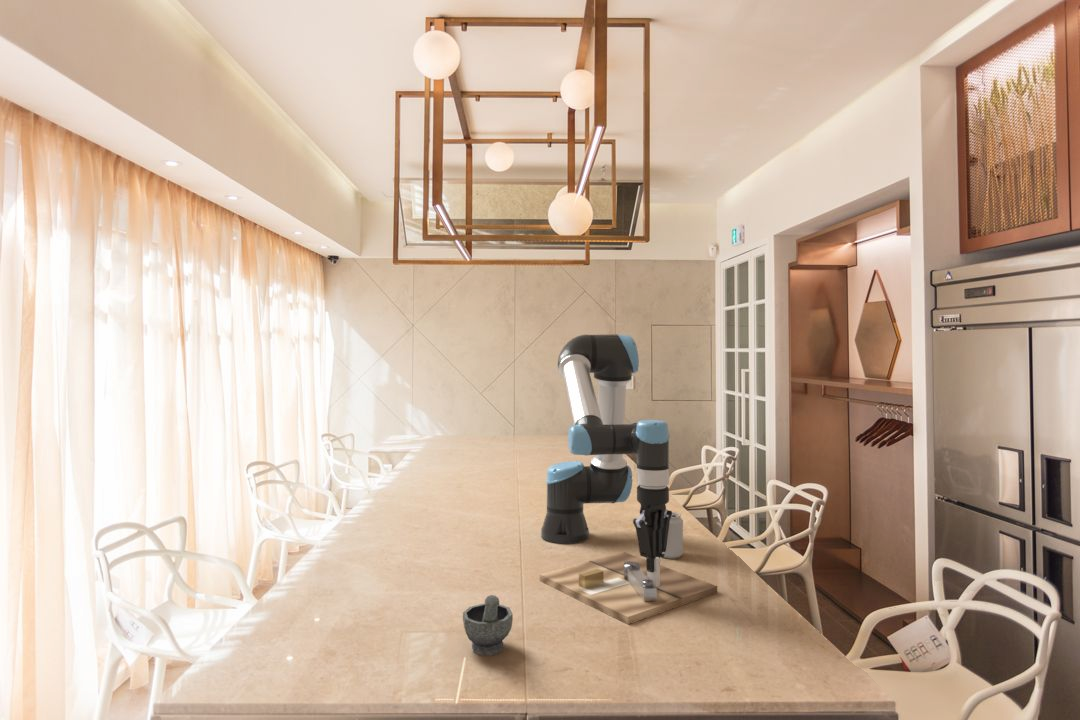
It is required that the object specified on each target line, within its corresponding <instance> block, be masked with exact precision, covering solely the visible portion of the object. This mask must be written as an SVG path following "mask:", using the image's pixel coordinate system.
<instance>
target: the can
mask: <svg viewBox="0 0 1080 720" xmlns="http://www.w3.org/2000/svg"><path fill="white" fill-rule="evenodd" d="M681 515H682V514H680V513H678V512H673V511H672V516H671V519H670V523H669V531H668V539H667V547H666V552H662V554H665V555H664V557H662V558H664V559H670V560H671V559H675V560H676V559H679V558H680V557H681V556H682V555H683V553H684V521H683V519H682V518H681Z"/></svg>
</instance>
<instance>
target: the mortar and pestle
mask: <svg viewBox="0 0 1080 720" xmlns="http://www.w3.org/2000/svg"><path fill="white" fill-rule="evenodd" d="M462 622H463V628H464V631H465V634H466V636H467V638H468V640H469V641H470V642H472V643H471V649H472V652H473V653H475V654H476V655H479V656H494V655H497V654H500V653H501V652H502V651H503V650H504V640H505V639H506V638H507V636H508V635H509V633H510V632H511V630H512V626H513V622H514V621H513V612H512V610H511V607H508V606H505V605H502V604H501V603H500V600H499V597H498V596H496V595H494V594H493V595H492V594H490V595H488V596H487V597H485V599H484V603H480V604H476V605H472V606H471V605H470V606H469V607H468V608H466V610H464V611H463V612H462Z"/></svg>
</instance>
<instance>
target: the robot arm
mask: <svg viewBox="0 0 1080 720" xmlns="http://www.w3.org/2000/svg"><path fill="white" fill-rule="evenodd" d="M639 360H640V359H639V351H638V346H637V344H636V341H635V339H634V338H633V337H632V336H631V335H628V334H627V335H626V334H617V333H615V334H581V335H577V336H575V337H573V338H572V339H571V340H569V341H567V343H565V345H564V346H563V347H562V349H561V350H560V353H559V355H558V358H557V368H558V370H557V371H558V374H559V376H560V378H562V379H563V381H564V386H565V390H566V395H567V399H568V405H569V408H570V414H571V419H572V422H573V423H572V425H570V426H569V427H568V432H567V442H568V450H569V452H570V453H571V454H572V455H577V456H581V455H582V456H593V457H592V458H591V459H590V460H589V461H590V464H589V465H584V462H582V461H578V460H576V461H575V460H574V461H572V460H571V461H561V462H558V463H555V464H554V463H553V464H552V465H550V466H549V467H548V469H547V471H546V480H545V483H546V513H545V517H544V521H543V525H542V527H541V530H540V531H541V532H540V535H541V536H540V537H541V538H542V539H543V541H546V542H549V543H555V544H577V543H582V542H584V541H587V540H588V539H589V537H590V531H589V530H590V529H589V527H588V523H587V520H586V516H585V514H584V504H616V503H625V502H626V501H627V500H628V499H629V497H630V495H631V492H632V487H633V470H632V468H631V467H630V465H628V461H627V460H626V459H625V458H624V457H623V456H624V455H636V483H637V487H636V501H637V502H638V503H639V504H640V509H639V516H638V517H637V518H633V520H632V523H633V525H634V527H635V531H636V538H637V542H638V550H639V556H641V557H643V558H646V559H645V560H646V568H647V578H648V579H649V580H652V581H653V585H654V586H659V585H660V565H661V558H663V557H664V555H665V554H662V552H666V547H667V539H668V531H669V523H670V519H671V516H672V512H673V511H672V510H668V509H667V505H666V504H668V503H669V502H670V488H669V487H668V486H669V484H670V468H669V467H670V465H669V463H670V462H669V461H670V460H669V457H670V455H669V453H670V452H669V451H670V448H669V447H670V442H669V441H670V440H669V439H670V434H669V425H668V422H667V421H665V420H660V419H659V420H658V419H643V420H642V419H641V420H639V421H637V422H632V423H628V424H625V419H626V418H625V417H626V414H625V413H626V396H627V394H626V393H627V385H628V383H630V382H631V381H632V376H633V374H635V373H637V372H638V371H639V366H640V365H639V363H640V361H639ZM590 373H591V374H593V378H594V380H595V381H596V382H597V383H598V387H597V390H598V391H597V397H596V392H595V389H594V385H593V381H592V377H591V374H590Z"/></svg>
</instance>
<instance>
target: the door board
mask: <svg viewBox="0 0 1080 720" xmlns="http://www.w3.org/2000/svg"><path fill="white" fill-rule="evenodd" d="M629 561H633V562H638V563H639V564H640V569H641V571H642V572H643V573H644V574H645V575H646V576H647V568H646V559H644V558H641V557H639V556H636V555H633V554H631V553H629V552H625V551H624V552H621V553H617V554H614V555H613V554H612V555H610V556H609V555H608V556H605V557H601V558H597V559H594V560H589V561H586V562H582V563H578V564H574V565H571V566H567V567H563V568H559V569H555V570H551V571H548V572H543V573H539V581H540V582H542V583H543V584H546V585H548V586H550V587H551V588H554V589H556V590H558V591H559V592H561V593H564V594H566V595H567V596H570V597H572V598H574V599H576V600H578V601H579V602H582V603H584V604H586V605H588V606H590V607H592V608H593V609H596V610H598V611H600V612H602V613H604V614H606V615H608V616H610V617H612V618H614V619H616V620H618V621H620V622H621V623H624V624H626V625H630V623H631V624H633V623H636V622H639V621H642V620H644V618H645V619H647V618H649V617H653V616H656V615H659V614H661V612H662V613H665V612H667V611H669V609H670V610H673V609H676V608H678V607H681V606H683V605H686V604H689V603H692V602H696V601H698V600H702V599H704V598H706V597H709V596H712V595H714V594H718V586H717V585H715V584H713V583H711V582H707V581H704V580H701V579H698V578H696V577H693V576H691V575H688V574H685V573H683V572H680V571H677V570H674V569H672V568H669V567H666V566H663V565H661V564H660V585H659V586H655V587H656V588H657V601H643V599H642V598H641V597H640V596H639V594H638V593H637V592H636V590H635V589H634V588H633V586H632V585H631V584H630V582H629V581H628V580H626V579H624V563H625V562H629ZM672 608H673V609H672ZM666 610H667V611H666ZM658 613H659V614H658ZM638 620H639V621H638Z"/></svg>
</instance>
